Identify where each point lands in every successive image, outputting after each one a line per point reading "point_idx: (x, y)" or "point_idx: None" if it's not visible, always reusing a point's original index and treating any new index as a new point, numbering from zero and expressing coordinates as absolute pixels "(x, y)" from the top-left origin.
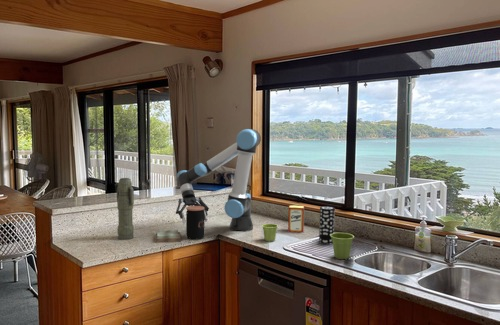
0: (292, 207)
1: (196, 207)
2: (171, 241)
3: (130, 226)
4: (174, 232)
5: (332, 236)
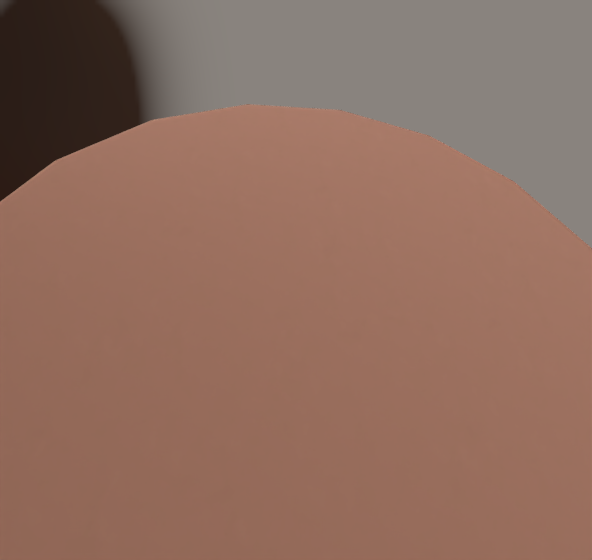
0: None
1: (271, 370)
2: None
3: None
4: None
5: None
